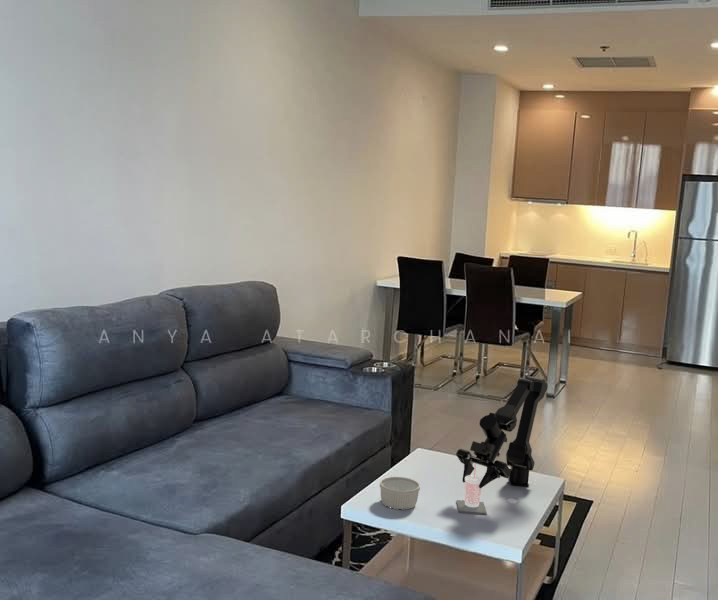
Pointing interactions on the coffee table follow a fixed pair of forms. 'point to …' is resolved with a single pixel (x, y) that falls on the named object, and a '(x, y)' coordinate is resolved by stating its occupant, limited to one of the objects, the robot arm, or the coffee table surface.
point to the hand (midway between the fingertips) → (471, 484)
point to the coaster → (471, 508)
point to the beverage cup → (472, 489)
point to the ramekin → (399, 492)
